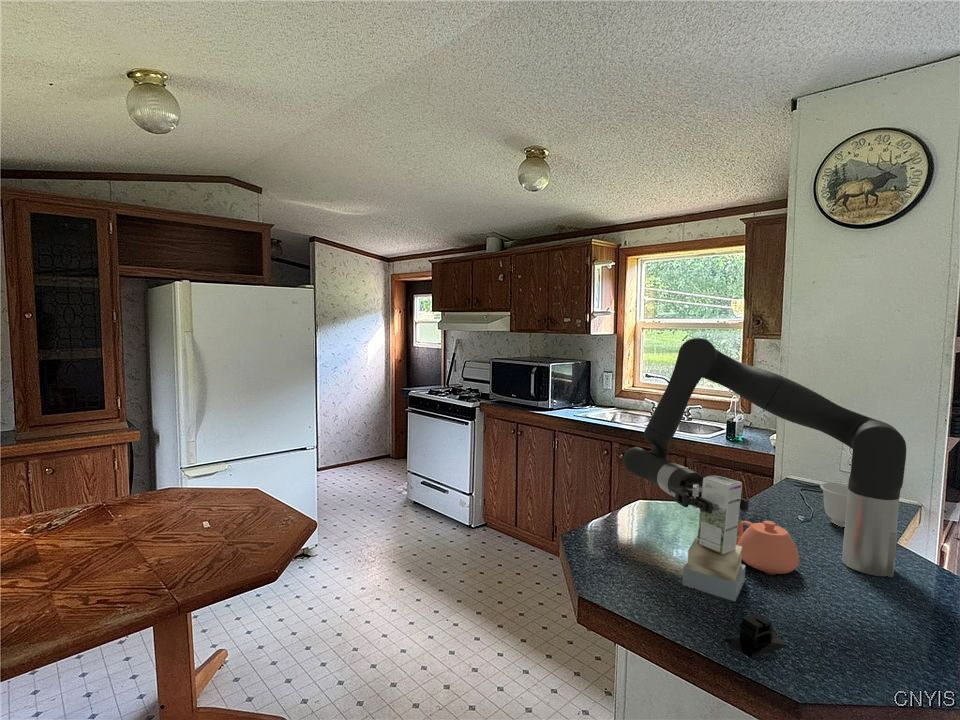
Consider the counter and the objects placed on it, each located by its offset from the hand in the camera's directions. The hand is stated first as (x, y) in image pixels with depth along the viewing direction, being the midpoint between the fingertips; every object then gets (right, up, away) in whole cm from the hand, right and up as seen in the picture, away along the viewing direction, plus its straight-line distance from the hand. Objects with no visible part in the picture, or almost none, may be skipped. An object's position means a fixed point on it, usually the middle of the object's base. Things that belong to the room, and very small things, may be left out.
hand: (729, 507), depth 104 cm
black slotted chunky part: (-4, -19, -17) cm, 25 cm away
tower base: (-2, -17, +3) cm, 18 cm away
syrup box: (-2, -9, +2) cm, 10 cm away
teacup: (+51, -16, +38) cm, 66 cm away
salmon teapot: (+14, -17, +12) cm, 25 cm away
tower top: (-2, -13, +3) cm, 14 cm away
